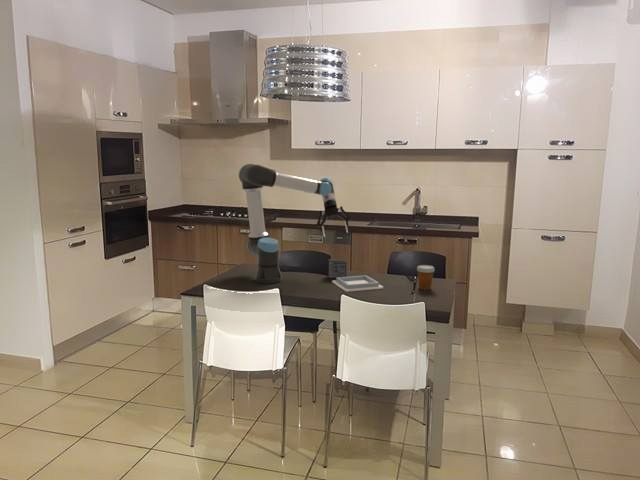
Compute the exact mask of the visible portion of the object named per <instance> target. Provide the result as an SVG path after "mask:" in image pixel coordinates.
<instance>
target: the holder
mask: <svg viewBox="0 0 640 480" xmlns="http://www.w3.org/2000/svg"><path fill="white" fill-rule="evenodd" d="M331 283H332V284H334V285H335V286H336V287H338V288H340V289H341V290H342V291H344V292H346V293H349V292H358V291H359V292H360V291H371V290H381V289H383V290H384V285H381V284H380V282H379V281H377V280H375V279H373V278H372V277H370V276H368V275H367V274H365V275H353V276H347V277H338V278H336V279H333V280H332V279H331Z"/></svg>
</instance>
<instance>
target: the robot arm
mask: <svg viewBox="0 0 640 480" xmlns="http://www.w3.org/2000/svg"><path fill="white" fill-rule="evenodd" d="M238 179H239V181H240V182H241V186H242V187H241V189H242V190H243V191H244V192H245V197H246V206H247V216H248V221H249V222H248V223H249V232H250V233H249V234H248V241H247V243H246V248H247V251H248V252H249V253H250V254H251V256H253V257H256V258H257V269H256V273H255V276H254V282H256V283H259V284H265V285H266V284H277V283H280V282H282V281H283V275H282V273H281V270H280V265H279V264H280V243H279V241H278V240H277V239H276V238H272V237H269V233H268V231H266V225H265V224H266V223H265V215H264V208H263V207H264V206H263V199H262V189H263V188H264V187H270V188H273V187H279V188H282V189H283V188H284V189H290V190H294V191H299V192H304V193H308V194H314V195H315V194H316V195H320V196H322V202H323V207H324V210H323V211H322V210H320V211H319V216H318V219H317V223H316V227H317V228H319V229H320V232H321V233H322V235H323V238H326V234H325V227H324V225H325V223H326V221H327V220H328V219H329V218H332V217H338V218H340V220H341V219H342V220H343V221H344V226H345V231H346V233H347V234H349V231H348V230H349V229H348V227H350V226H349V225H350V224H349V222H350V221H351V217H350V215H348V213H347V212H346V211H345V210H344V208H343V206H340V207H338V206H337V200H336V194H335V190H334V184H333V181H332V179H331V178H329V177H326V178H321V179H320V180H315V179H312V178H305V177H301V176H296V175H292V174H287V173H282V172H277V170H276V169H272V168H269V167H266V166H263V165H260V164H254V163H247V164H244V165H243V166H241V167H240V169H239V171H238ZM339 212H341V213H342V214H343V215H342V214H341V213H339ZM324 214H325V215H324ZM323 216H324V217H323Z"/></svg>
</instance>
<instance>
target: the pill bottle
mask: <svg viewBox="0 0 640 480" xmlns="http://www.w3.org/2000/svg"><path fill="white" fill-rule="evenodd" d="M435 270H436V269H435V267H434V266H433V265H429V264H420V265H418V266H417V267H416V271H417V279H418V281H417V283H418V288H420V289H419V290H422V289H424V290H423V291H427V290H428V289H429V290H432V289H431V288H432V285H433V284H432V283H433V278H434V273H435ZM429 290H428V291H429Z"/></svg>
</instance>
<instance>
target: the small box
mask: <svg viewBox="0 0 640 480" xmlns="http://www.w3.org/2000/svg"><path fill="white" fill-rule="evenodd" d="M327 261H328V277H327V278H328V279H329V278H330V279H331V280H332V279H333V280H336V278H338V277H348V275H347V272H348V271H347V269H348V267H347V266H348V265H347V264H348V259H344V258H343V259H338V258H337V259H336V258H330V259H328V260H327Z"/></svg>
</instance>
